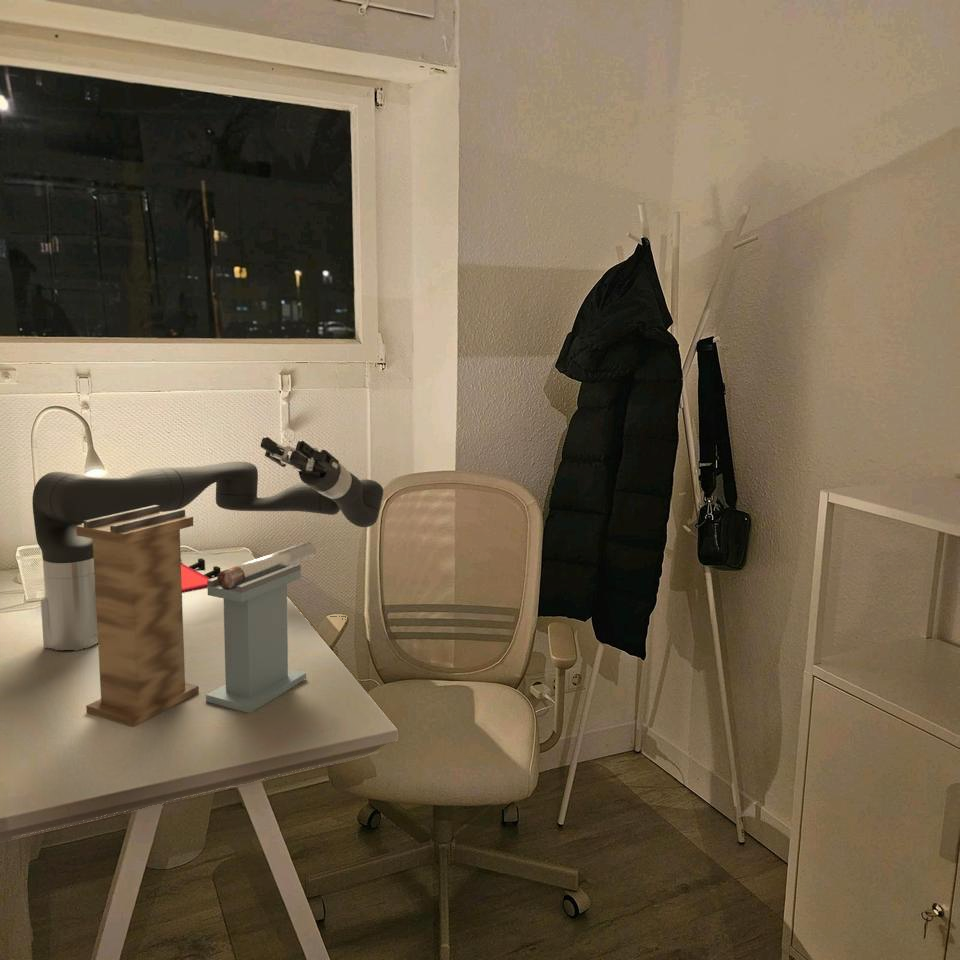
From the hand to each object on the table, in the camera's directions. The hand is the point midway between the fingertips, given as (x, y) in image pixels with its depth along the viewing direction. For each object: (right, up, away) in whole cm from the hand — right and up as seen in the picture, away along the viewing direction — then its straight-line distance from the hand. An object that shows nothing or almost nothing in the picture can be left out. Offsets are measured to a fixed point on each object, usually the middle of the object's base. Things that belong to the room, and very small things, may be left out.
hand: (280, 443), depth 157 cm
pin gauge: (+2, -23, -15) cm, 28 cm away
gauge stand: (-17, -44, -21) cm, 51 cm away
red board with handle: (-38, -31, +49) cm, 70 cm away
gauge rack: (0, -43, -15) cm, 46 cm away
